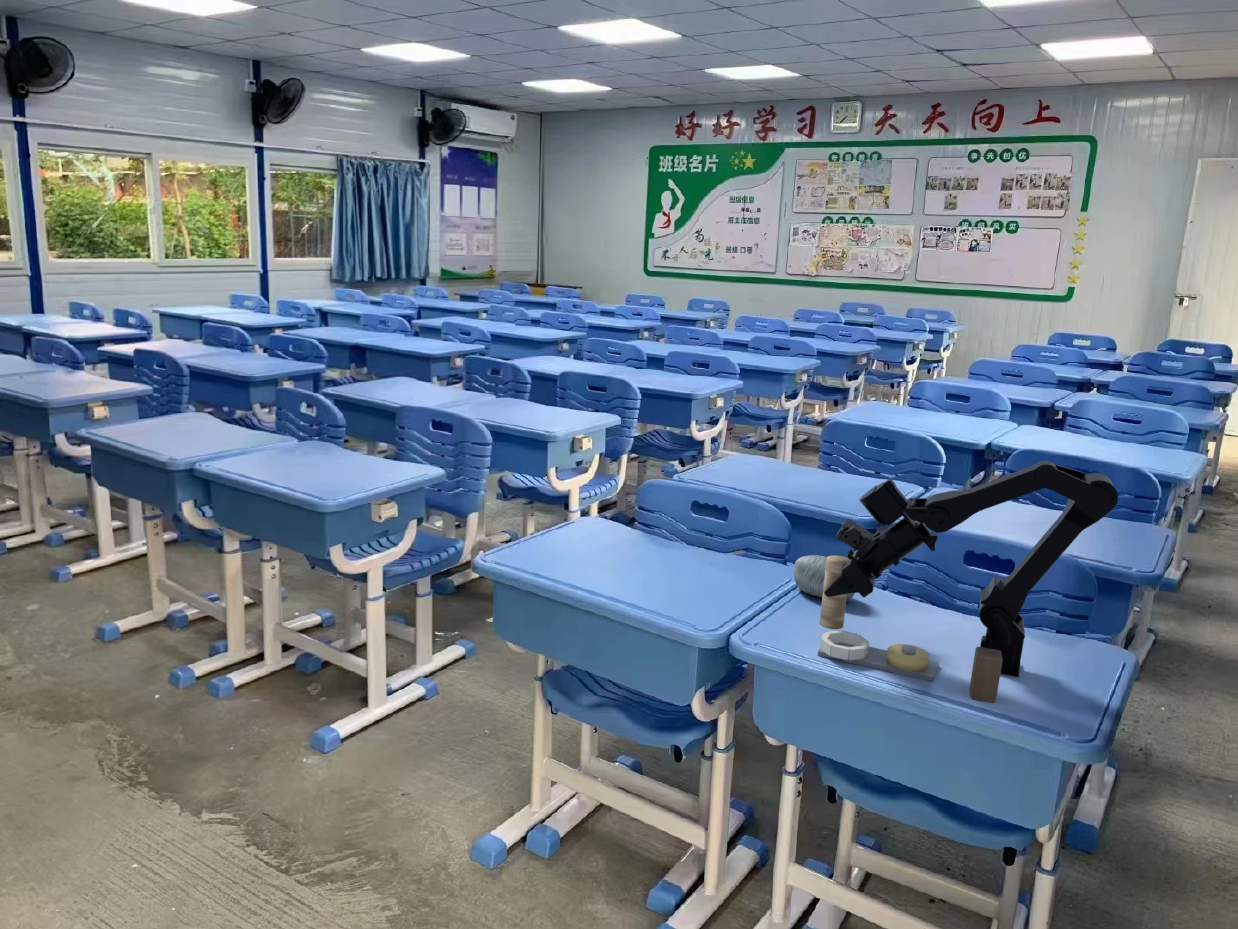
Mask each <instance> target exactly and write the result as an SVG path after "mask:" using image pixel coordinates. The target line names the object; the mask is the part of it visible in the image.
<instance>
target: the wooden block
mask: <svg viewBox="0 0 1238 929" xmlns="http://www.w3.org/2000/svg"><path fill="white" fill-rule="evenodd" d="M1001 667H1002V655H1001V651H1000V650H995V649H989V648H983V647H980V646H976V647H975V651H974V657H973V663H972V670H971V676H970V682H969V696H970V699H972V700H977V701H981V702H987V703H991V704H995V703H996V702H997V697H998V691H999V684H1000V679H1001V678H1000V677H1001Z"/></svg>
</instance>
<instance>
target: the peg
mask: <svg viewBox="0 0 1238 929" xmlns="http://www.w3.org/2000/svg"><path fill="white" fill-rule="evenodd" d="M826 557H827V560H826V570H825V579H824V588H823V597H822V598H821V608H820V616H819V625H820V626H821V627H823V628H824V629H827V630H828V629H829V630H842V629H843V628H844V623H845V616H846V615H845V614H846V608H847V607H846V605H847V601H846V599H847V594H843V595H837V596H831V597H827V596H826V595H825V594H824V592H825V591H826V590H827V589H828V587H829V586H830V585H831V584H832V583H833V582H834V581H835V580H836V579H837V578H838V577H839V576H840V575H841V574H842V566H843V564H844V562H845V563H847V562H849V561H850V559H849V558H848V557H847V556H842V555H829V556H826Z"/></svg>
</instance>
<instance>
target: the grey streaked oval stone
mask: <svg viewBox="0 0 1238 929" xmlns="http://www.w3.org/2000/svg"><path fill="white" fill-rule="evenodd" d="M827 557H828V556H823V555H817V554H808V555H804V556H801V557H799V558H797V560H796V561H795V563H794V565H793V578H794V581H795V584H796V586H797V588H798V589H800V590H801V591H802V592H804V593H806V594H808V595H811V596H814V597H818V598H821V599H822V597H823V588H824V579H825V570H826V560H827ZM855 594H856V593H850V594H847V599H846V602H848V601H850V600H851V599H852V598H853V597H854V596H855Z"/></svg>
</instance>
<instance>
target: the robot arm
mask: <svg viewBox="0 0 1238 929" xmlns="http://www.w3.org/2000/svg"><path fill="white" fill-rule="evenodd" d="M1042 489H1047V490H1050V491H1053V492H1054V493H1056V494H1059V495H1061V496H1063V497H1064V498H1067V499H1068V500H1067V502H1066V503H1065V506H1064V508H1063V510H1062V513H1061V514H1060V515H1059V517H1057V519H1056V520H1055V521H1054V522H1053V524H1051V526H1050V527H1049V528H1048V529H1047V531H1046V532H1045V533H1044V534H1043V535H1042V536H1041V538H1040V539H1039V540H1038V541H1037V543H1036V544H1035V545H1034V546H1033V547H1032V548H1031V549H1030V551H1028V553H1027V554H1026V556H1024V558H1022V560H1021V561H1020V562H1019V564H1018V565H1017V566H1016V567H1015V568H1014V569H1013V571H1012V572H1011V573H1009V575H1007V576H1006V577H1005V576H1004V578H1002V579H1000V578H999V577H998V576H997V575H993V577H992V578H991V580H990V582H989V583H988V585H987V586H986V587H984V588H982V589H981V590H980V598H979V608H978V611H979V612H978V615H979V620H980V622H981V624H982V625H983V626H984V627H985V628H986V631H985V635H982V636H981V640H980V645H979V647H983V648H989V649H995V650H1000V651H1001V655H1002V667H1001V673H1000V675H1005V676H1006V675H1007V676H1011V677H1015V678H1016V677H1017V678H1018V677H1020V672H1021V661H1022V660H1021V659H1022V655H1023V648H1024V642H1025V637H1026V631H1025V623H1024V618H1023V617H1022V615H1020V612H1021V610H1022V608H1023V606H1024V603H1025V601H1026V599H1027V597H1028V595H1029V593H1030V592H1031V591H1032V590H1033V588H1034V587H1035V586H1036V585H1037V583H1038V582H1039V581H1040V580H1041V579H1042V578H1043V576H1044V575H1045V574H1047V572H1048V571H1049V570H1050V569H1051V567H1053V565H1054V564H1055V563H1056V562H1057V560H1058V559H1059V558H1060V557H1061V556H1062V555H1063V553H1065V551H1066V550H1067V549H1068V548H1069V547H1070V546H1071V544H1072V543H1073V542H1074V541H1075V540H1076V539H1077V538H1078V537H1079V535H1080V534H1081V533H1082V532H1083V531H1084V530H1086V529H1087V528H1089V527H1091V526H1093V525H1094V524H1096V523H1098V522H1099V521H1100V520H1102V519H1103V518H1104V517H1105V516H1107V515H1108V514H1109V513H1110V512H1112V511H1113V510H1114V509H1115V508H1116V506H1117V504H1118V502H1119V495H1118V491H1117V489H1116V487H1115V485H1114V483H1113V482H1112V480H1111V478H1109V477H1108V476H1107V475H1106V474H1104V473H1101V472H1100V473H1099V472H1092V473H1086V472H1082V471H1081V470H1077V469H1073V468H1070V467H1066V466H1063V465H1059V464H1056V463H1055V462H1051V461H1050V460H1045V459H1043V460H1039V461H1038V462H1036V463H1035V464H1033V465H1030V466H1028V467H1025V468H1022V469H1020V470H1018V471H1014V472H1012V473H1009V474H1007V475H1003V476H1000V477H998V478H996V479H993V480H990V481H987V482H985V483H982V484H979V485H977V486H974V487H972V488H967V489H958V490H949V491H944V492H939V493H935V494H932V495H931V496H928V497H927V498H926V497H918V498H917V497H909V498H908V499H907V497H906V496H905V495H904V494H903V493H902V492H901V491H900V489H899V487H897V484H896V483H895V482H894V480H893V479H892V478H890V477H889V478H888V479H887V480H885V481H883V482H881V483H879V484H878V485H874V486H873V487H871V488H870V489H868V491H867V492H865V493H864V494H863V495H862V496H860V498H859V499H858V501H859V503H861V505H863V507H864V508H865V509H866V511H867V512H868V513H869V515H871V517H872V518H873V519H874V520H875V522H876V523H877V524H878V525H881V524H882V525H883V526H890V525H891V526H890V527H889V528H887V529H886V530H884V531H879V530H878V531H877V532H875V533H874V534H873V533H872V532H871V531H869V530H868V529H866V528H864V527H863V526H861V525H860V524H858V523H856V522H855V521H853V520H851V519H850V518H846V519H845V521H844V522H843V523H842V525H841V527H840V528H839V530H838V531H837V533H836V535H835V538H836V539H837V540H838V541H839V542H841V543H845V544H846V545H848V546H849V547H851V548H852V549H854V550H855V551H853V550H852V549H851V548H850V549H849V551H848V553H847V558H849V559H850V561H849V562H847V563H845V562H844V564H843V566H842V574H841V575H840V576H839V577H838V578H837V579H836V580H835V581H834V582H833V583H832V584H831V585H830V586H829V587H828V589H827V590H826V591H825V592H824V594H825V595H826V596H827V597H831V596H837V595H843V594H850V593H855V594H859V595H860V596H861V597H862V598H866V597H867V596H870V594H872V593H873V591H874V589H875V582H876V579H878V578H879V577H881V576H882V574H883V572H884V571H886V570H888V569H889V568H890V567H892V566H893V565H894V567H896V566H898V565H899V564H900V563H901V560H903V558H904V559H905V557H906V556H908V555H909V554H911V553H913V552H914V551H915V550H917V549H918V548H920V547H921V546H922V545H924V544H925V545H926V546H927V547H928V548H929V550H930V551H931V552H935V550H936V546H937V540H938V538H939V534H940V533H945V532H948V531H950V530H951V529H954V528H955V527H957V526H959V525H960V524H962V523H963V522H965V521H967V520H968V519H970V518H971V517H972V516H974V515H976V514H977V513H979V512H981V511H983V510H984V511H985V510H987V509H990V508H992V507H995V506H997V505H1000V504H1003V503H1007V502H1009V501H1012V500H1015V499H1018V498H1020V497H1022V496H1025V495H1028V494H1031V493H1034V492H1036V491H1037V492H1038V491H1040V490H1042ZM902 517H903V518H902ZM899 519H900V520H899ZM898 520H899V521H898ZM895 522H896V523H895ZM893 523H894V524H893ZM932 531H933V532H932Z"/></svg>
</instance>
